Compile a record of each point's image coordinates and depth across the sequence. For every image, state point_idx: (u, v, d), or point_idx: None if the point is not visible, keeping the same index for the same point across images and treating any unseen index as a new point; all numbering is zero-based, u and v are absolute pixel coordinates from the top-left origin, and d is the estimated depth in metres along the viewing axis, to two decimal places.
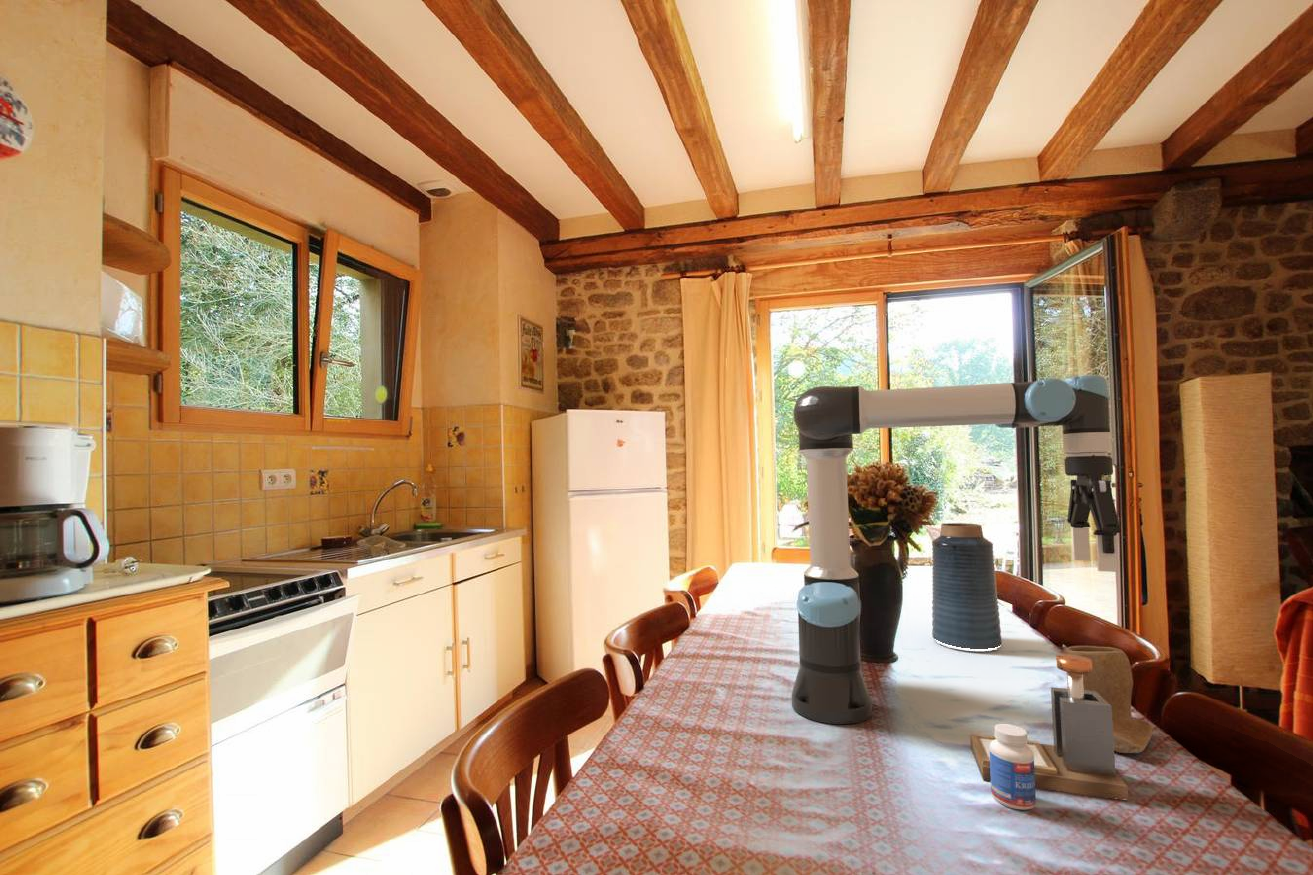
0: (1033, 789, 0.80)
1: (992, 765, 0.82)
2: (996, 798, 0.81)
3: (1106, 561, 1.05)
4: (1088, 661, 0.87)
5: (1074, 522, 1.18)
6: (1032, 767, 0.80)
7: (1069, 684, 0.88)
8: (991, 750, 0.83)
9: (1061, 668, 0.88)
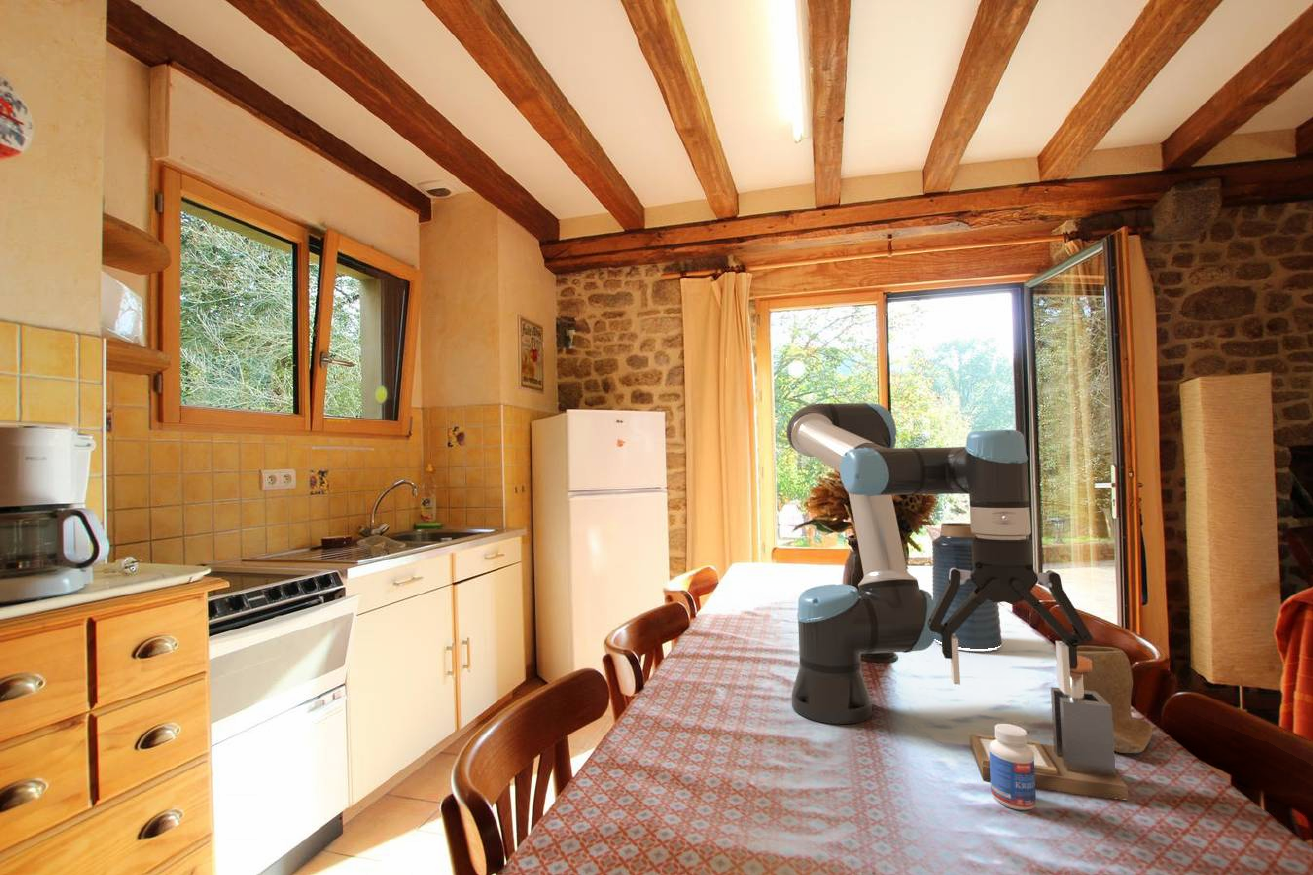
0: (1033, 789, 0.80)
1: (992, 765, 0.82)
2: (996, 798, 0.81)
3: (952, 667, 0.85)
4: (1088, 661, 0.87)
5: (1057, 633, 0.82)
6: (1032, 767, 0.80)
7: None
8: (991, 750, 0.83)
9: None
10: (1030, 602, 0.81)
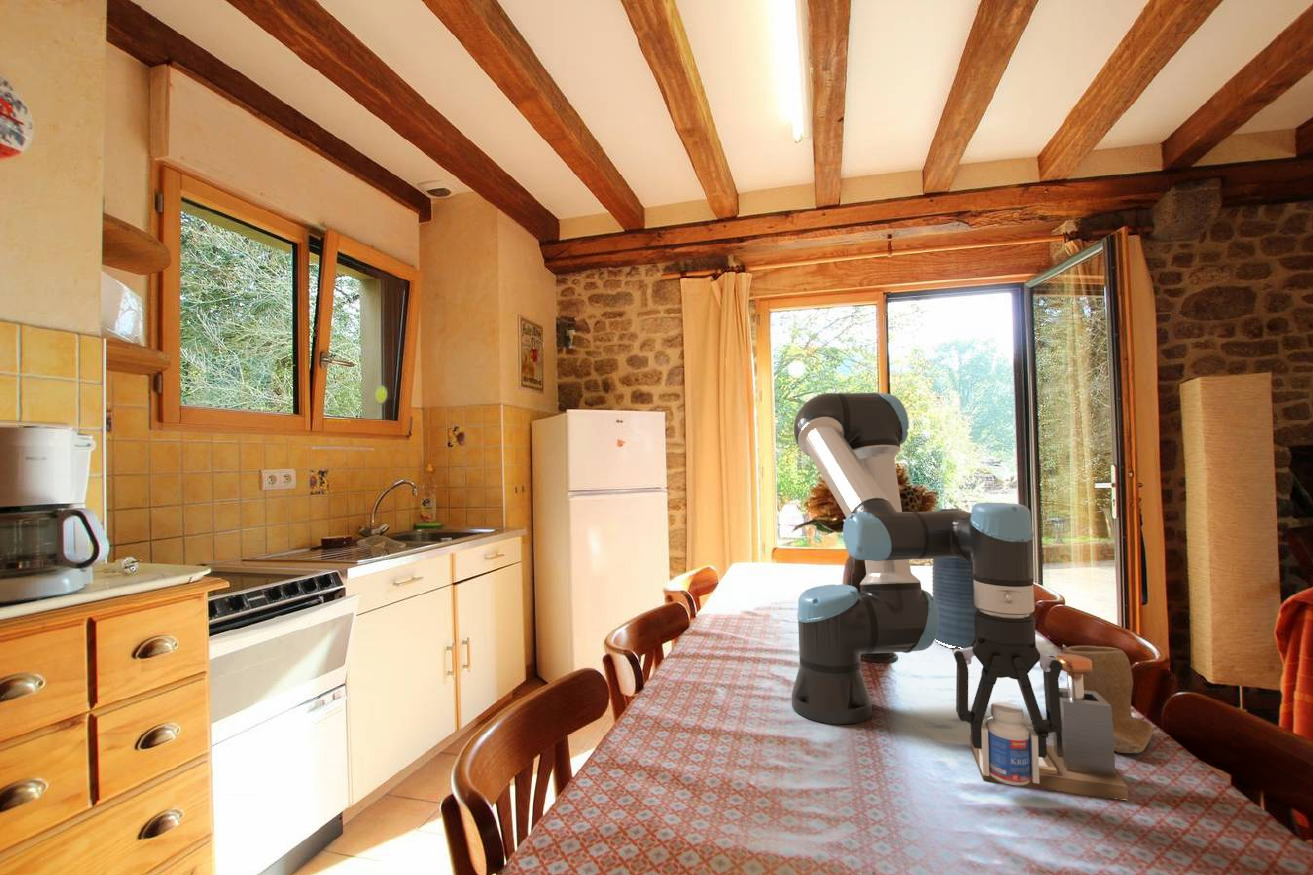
0: (1028, 765, 0.81)
1: (988, 742, 0.83)
2: (991, 774, 0.82)
3: (980, 756, 0.84)
4: (1088, 661, 0.87)
5: (1030, 717, 0.83)
6: (1027, 744, 0.81)
7: (1069, 684, 0.88)
8: (987, 727, 0.83)
9: None
10: (1022, 682, 0.81)
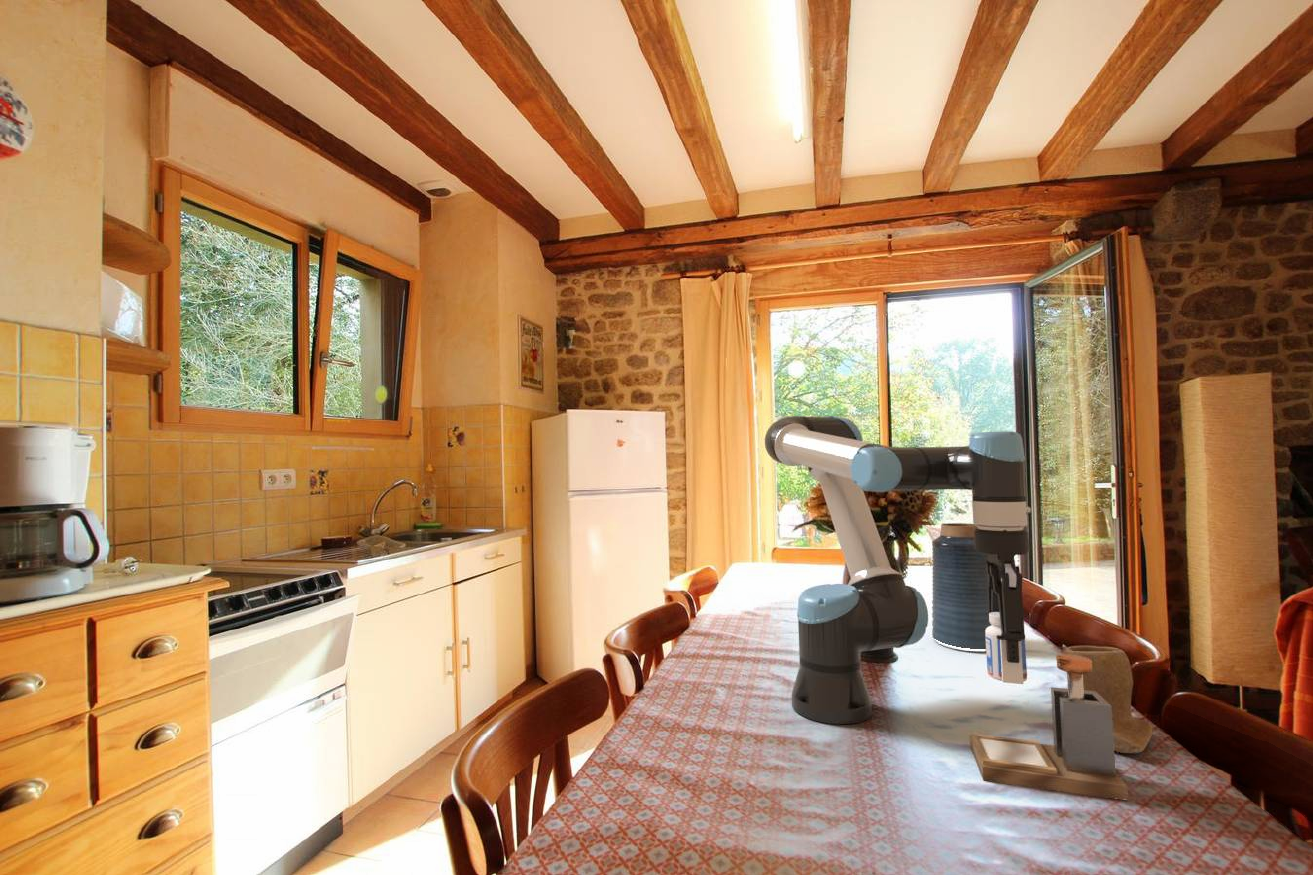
0: None
1: None
2: None
3: (1011, 671, 0.88)
4: (1088, 661, 0.87)
5: None
6: None
7: (1069, 684, 0.88)
8: None
9: (1061, 668, 0.88)
10: None
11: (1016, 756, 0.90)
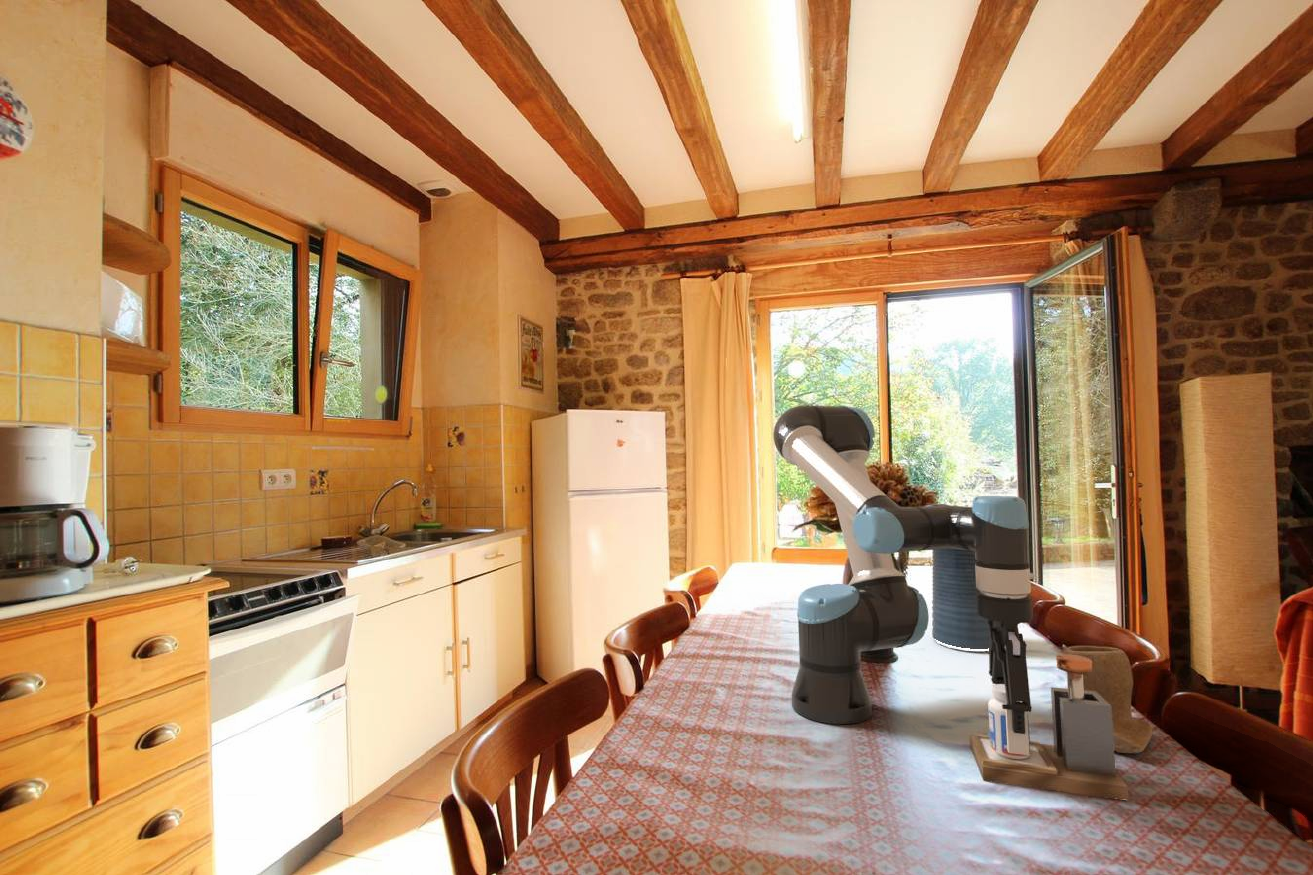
0: None
1: None
2: (1023, 756, 0.88)
3: (1016, 741, 0.86)
4: (1088, 661, 0.87)
5: (995, 677, 0.96)
6: None
7: (1069, 684, 0.88)
8: None
9: (1061, 668, 0.88)
10: None
11: None
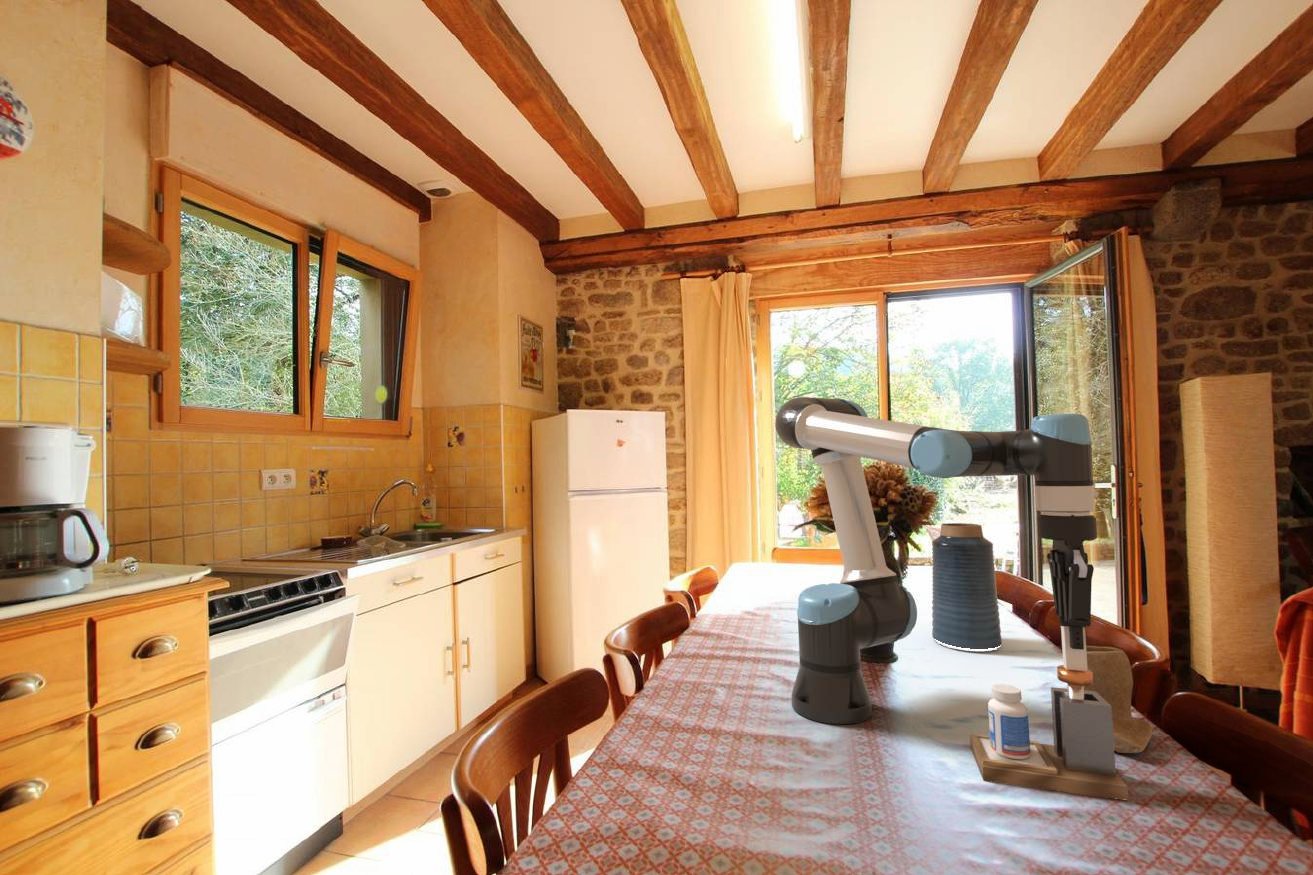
0: None
1: (1017, 728, 0.89)
2: (1023, 756, 0.88)
3: (1074, 657, 0.88)
4: (1089, 673, 0.87)
5: (1063, 612, 0.90)
6: None
7: (1070, 695, 0.88)
8: (1016, 715, 0.89)
9: (1062, 679, 0.88)
10: None
11: None
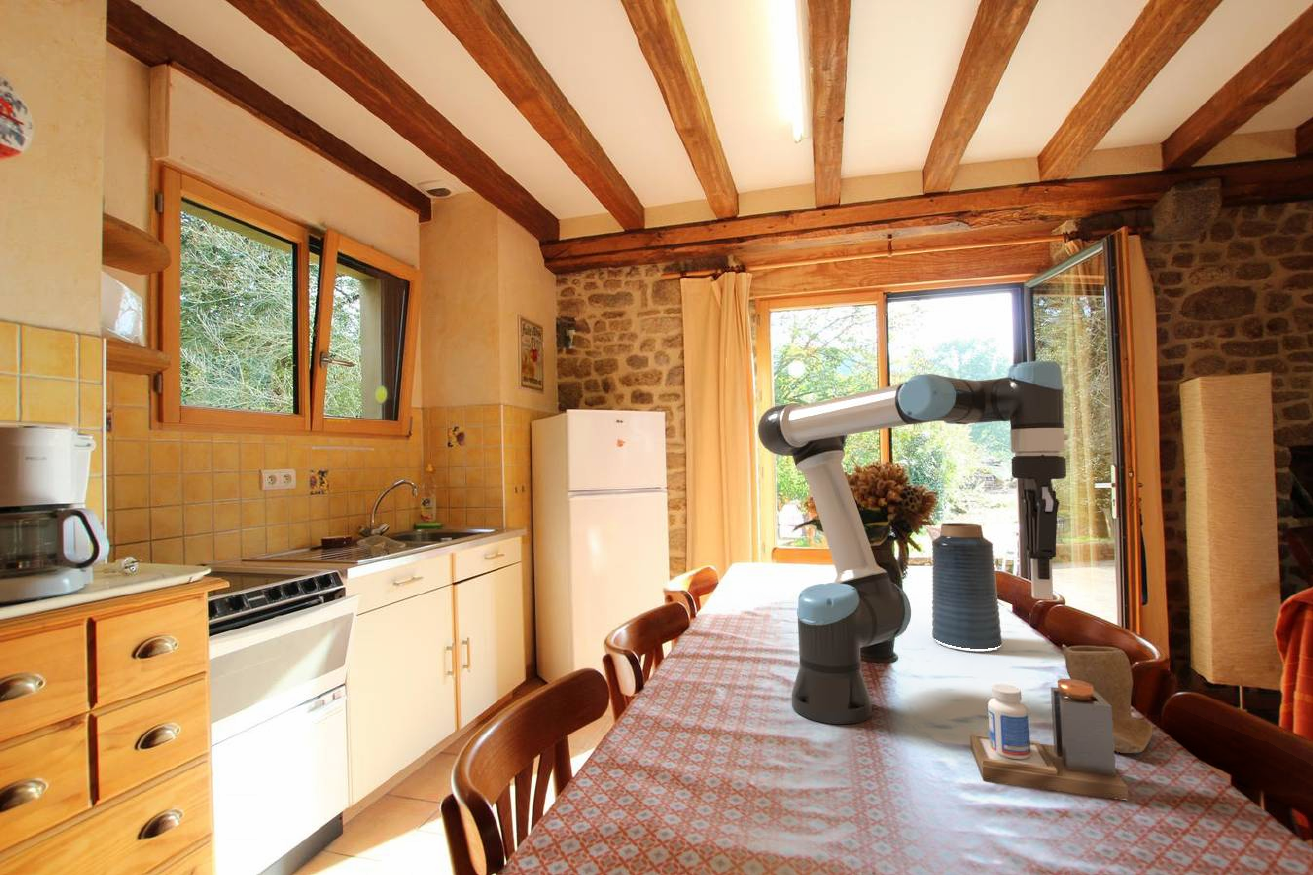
0: None
1: (1017, 728, 0.89)
2: (1023, 756, 0.88)
3: (1041, 587, 0.95)
4: (1090, 687, 0.87)
5: (1032, 546, 0.97)
6: None
7: None
8: (1016, 715, 0.89)
9: (1062, 693, 0.88)
10: None
11: None
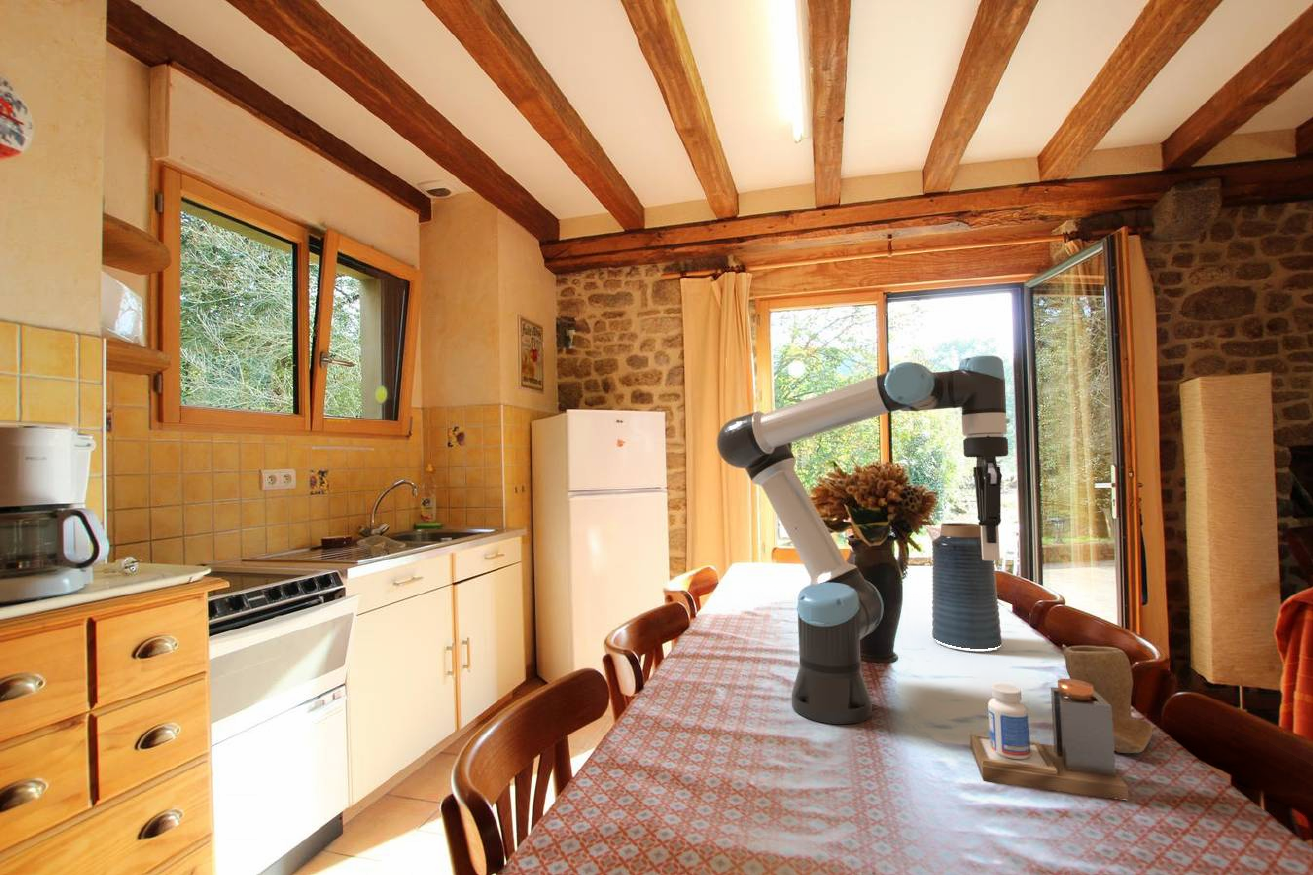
0: None
1: (1017, 728, 0.89)
2: (1023, 756, 0.88)
3: (990, 550, 1.10)
4: (1090, 687, 0.87)
5: (982, 515, 1.12)
6: None
7: None
8: (1016, 715, 0.89)
9: (1062, 693, 0.88)
10: None
11: None
